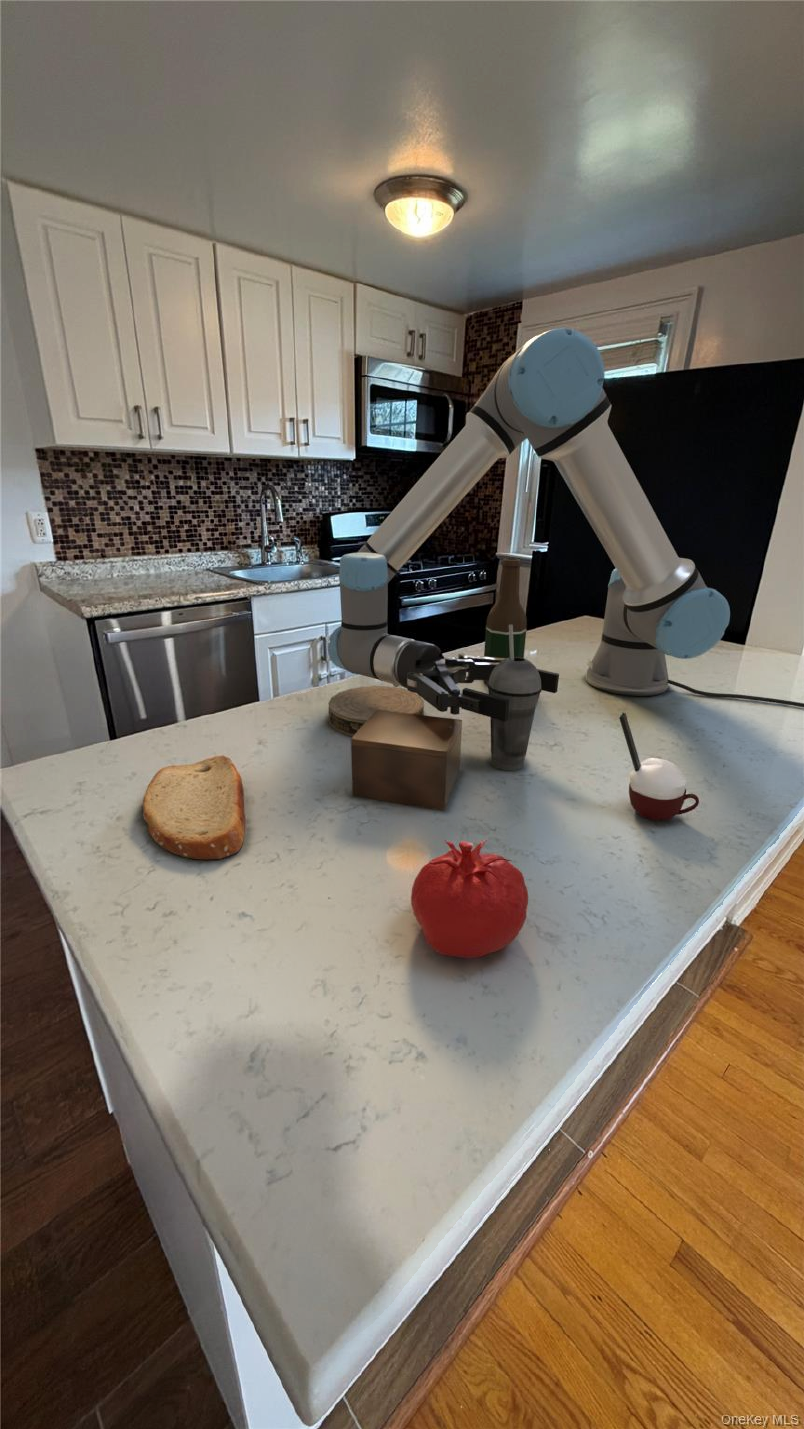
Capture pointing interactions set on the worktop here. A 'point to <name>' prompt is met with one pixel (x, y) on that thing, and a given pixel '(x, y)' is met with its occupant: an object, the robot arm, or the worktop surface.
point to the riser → (406, 758)
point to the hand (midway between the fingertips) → (533, 696)
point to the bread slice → (197, 809)
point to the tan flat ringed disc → (370, 705)
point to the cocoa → (655, 784)
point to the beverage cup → (513, 708)
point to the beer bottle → (506, 615)
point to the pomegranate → (469, 901)
